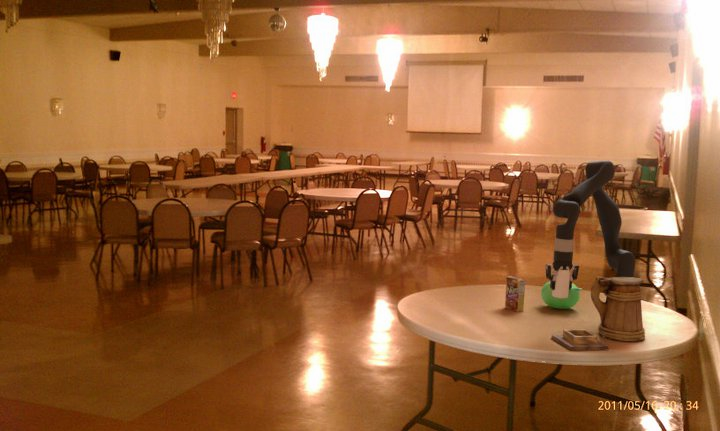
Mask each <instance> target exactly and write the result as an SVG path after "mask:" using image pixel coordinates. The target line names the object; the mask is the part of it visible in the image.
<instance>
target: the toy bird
mask: <svg viewBox="0 0 720 431" xmlns="http://www.w3.org/2000/svg"><path fill="white" fill-rule="evenodd" d="M582 291H583V288H580V287H578V286H577V285H576V284H574V282H572V288H571V289H570V290H569V293H568V297H567V298H566V299H560V298H555V297H553V296H552V289H551V288H550V280H548V282H546V283H545V284H543V286H542V288H541V291H540V296H541V299H542V301H543V302H544V304H546V305H547V306H549V307H550V308H553V309H558V310H564V309H565V310H566V309H570V308H573V307H575V306H576V305H577V303H578V302H579V300H580V297H581V293H580V292H582Z"/></svg>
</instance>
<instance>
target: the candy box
mask: <svg viewBox="0 0 720 431" xmlns="http://www.w3.org/2000/svg"><path fill="white" fill-rule="evenodd" d="M525 290H526V279H522V278H519V277H518V276H517V277H516V276H514V275H511V276H510V275H508V276H506V282H505V297H504V298H505V300H504V308H505V309H508V310H511V311H514V312H524V310H525V309H524V305H525V295H526V294H525Z"/></svg>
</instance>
